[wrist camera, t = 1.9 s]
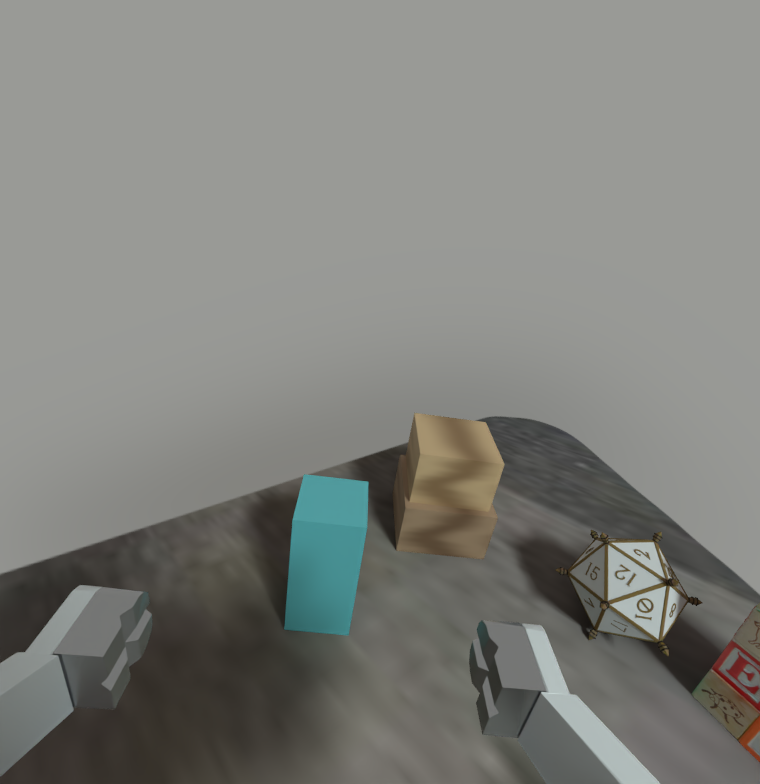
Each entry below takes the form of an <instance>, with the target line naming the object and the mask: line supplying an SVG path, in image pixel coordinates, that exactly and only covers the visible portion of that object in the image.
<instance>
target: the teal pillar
mask: <svg viewBox="0 0 760 784" xmlns="http://www.w3.org/2000/svg"><path fill="white" fill-rule="evenodd" d="M367 514H368V482H366V481H357V480H349V479H340V478H331V477H322V476H314V475H305V474H304V477H303V481H302V485H301V489H300V493H299V497H298V500H297V504H296V508H295V512H294V516H293V520H292V534H291V547H290V560H289V574H288V587H287V600H286V614H285V627H284V630H293V631H304V632H316V633H327V634H338V635H349V629H350V623H351V618H352V612H353V606H354V600H355V595H356V589H357V583H358V577H359V572H360V566H361V560H362V554H363V549H364V543H365V537H366V531H367Z"/></svg>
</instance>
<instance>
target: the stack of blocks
mask: <svg viewBox="0 0 760 784" xmlns="http://www.w3.org/2000/svg"><path fill="white" fill-rule="evenodd" d="M692 695H693V697H694V698H695V699H696V700H697V701H698V702H700V703H701V704H702V705H703V706H704V707H705V708H706V709H707V710H708V711H709V712H710V713H711V714H712V715H713V716H714V717H715V718H716V719H717V720H718V721H719V722H720V723H721V724H722V725H723V726H724V727H725V728H726V729H727V730H728V731H729V732H730V733H731V734H732V735H733V736H734V737H735V738H736V739H738V741H739V742H740V743H741V745H742V746H743V747H745V748H746V749H747V750H748V751H749V752H750V753H751V754H752V755H753V756H754V757H755V758H756V759H757V760H758V761H759V762H760V603H759V604H758V605H757V606H755V607H754V609H753V610H752V611H751V612H750V614H749V616H748V617H747V618H746V619H745V621H744V623H743V624H742V625H741V626H740V628H739V629H738V630H737V632H736V633H735V635H734V637H733V639H732V640H731V641H730V642H729V644H728V645H727V647H726V648H725V649H724V651H723V652H722V653H721V655H720V656H719V658H718V659H717V661H716V662H715V663H714V665H713V666H712V668H711V669H710V670H709V671H708V673H707V674H706V675H705V677H704V678H703V679H702V680H701V682H700V683H699V684H698V686H697V687H696V688H695V690H694V691H693V693H692Z"/></svg>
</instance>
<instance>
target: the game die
mask: <svg viewBox="0 0 760 784" xmlns="http://www.w3.org/2000/svg"><path fill="white" fill-rule="evenodd" d="M654 534H655V535H654V536H653V540H641V539H617V538H608V535H606V534H604V533H603V532H602V534H601V535H600V537H601V538H598V534H597V532H595V531H593V530H591V536H592V538H594V539H595V540H594V541H593V542H592V543H591V544H590V545H589V547H588V548H587V549H586V550H585V551H584V552H583V553H582V555H581V556H580V557H579V558H578V559H577V560H576V561H575V563H574V564H573V565H572V566H571V567H570V568H569V569H568V570H566V569H564V568H561V567H560V568H558V569H556V571H557V572H559V573H560V574H563V575H564V574H567V575H568V577H569V579H570V581H571V583H572V585H573V587H574V589H575V591H576V593H577V595H578V597H579V599H580V601H581V603H582V605H583V607H584V609H585V611H586V614H587V616H588V618H589V620H590V622H591V624H592V626H593V629H592V630H590V632H588V633H589V640H591V639H594V638H595V637H596V636H597V632H602V633H608V634H613V635H618V636H623V637H629V638H634V639H639V640H644V641H649V642H655V643H658V645H659V648H660V650H661V652H662V653H664V654H666V655H667V656H668V657H669V652H668V650H669V648H667V645H665V644H664V643H663V639H664V638H665V636H666V635H667V633H668V632H669V630H670V629H671V627H672V626H673V624H674V622H675V621H676V619H677V618H678V616H679V615H680V613H681V612H682V610H683V609H684V607H685V606H686V604H687V603H688V602H689V603H691V604H692V605H693V604H694V605H696V606H697V605H698V604H701V603H702V602H701V601H700V600H698V598H696V597H695V598H693V597H688V596H687V594H686V593H685V591H684V589H683V587H682V586H681V584H680V582H679V580H678V579H677V577H676V575H675V573H674V572H673V570H672V568H671V566H670V565H669V563H668V561H667V560H666V558H665V556H664V554H663V553H662V551H661V549H660V547H659V546H658V544H657V542H658V541H660V539H661V538H662V535H661V532H658V533H654ZM595 639H596V638H595Z"/></svg>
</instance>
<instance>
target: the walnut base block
mask: <svg viewBox="0 0 760 784" xmlns="http://www.w3.org/2000/svg"><path fill="white" fill-rule="evenodd" d="M393 507H394V522H395V538H396V551H405V552H415V553H425V554H435V555H446V556H456V557H466V558H476V559H484V557H485V554H486V551H487V548H488V545H489V542H490V539H491V536H492V533H493V530H494V527H495V524H496V522H497V519H498V517H497V515H496V512H495V509H494V507H493V504H491V507H490V510H489V512H486V511H478V510H470V509H462V508H454V507H445V506H437V505H429V504H421V503H413V502H409V490H408V478H407V467H406V455H400V458H399V463H398V468H397V473H396V478H395V483H394V488H393Z"/></svg>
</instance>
